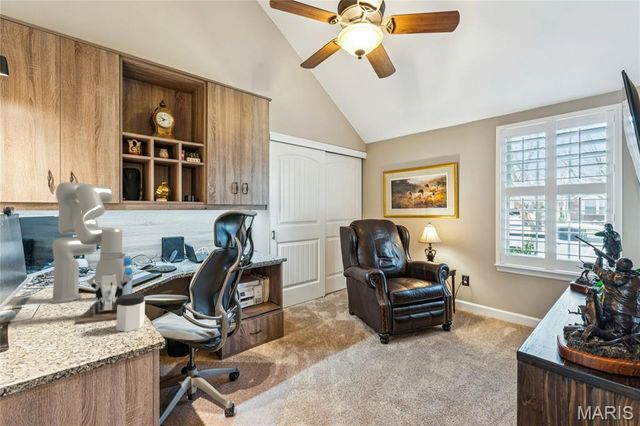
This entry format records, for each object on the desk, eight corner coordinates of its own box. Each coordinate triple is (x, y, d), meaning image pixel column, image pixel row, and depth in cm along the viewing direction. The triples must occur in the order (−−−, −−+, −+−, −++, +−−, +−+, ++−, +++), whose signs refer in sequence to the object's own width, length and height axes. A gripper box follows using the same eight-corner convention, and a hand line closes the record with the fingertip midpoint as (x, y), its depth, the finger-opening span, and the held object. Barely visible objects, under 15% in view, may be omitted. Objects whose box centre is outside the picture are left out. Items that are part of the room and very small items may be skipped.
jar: (111, 329, 106) (112, 297, 106) (131, 322, 114) (132, 292, 114) (129, 333, 103) (130, 299, 104) (148, 325, 111) (149, 294, 111)
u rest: (90, 309, 129) (91, 298, 129) (137, 305, 137) (137, 294, 137) (75, 324, 111) (75, 311, 111) (129, 318, 119) (130, 306, 119)
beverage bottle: (125, 299, 146) (126, 260, 146) (108, 299, 146) (110, 260, 146) (135, 295, 154) (137, 258, 155) (120, 295, 154) (121, 258, 155)
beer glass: (122, 307, 125) (123, 273, 126) (106, 312, 119) (107, 275, 119) (111, 305, 127) (112, 271, 128) (94, 309, 121) (96, 274, 121)
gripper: (135, 255, 131) (134, 294, 130) (88, 256, 123) (86, 297, 123) (133, 257, 124) (131, 298, 123) (83, 258, 117) (81, 302, 116)
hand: (109, 297), depth 123 cm, fingers closed on beer glass, 6 cm apart
